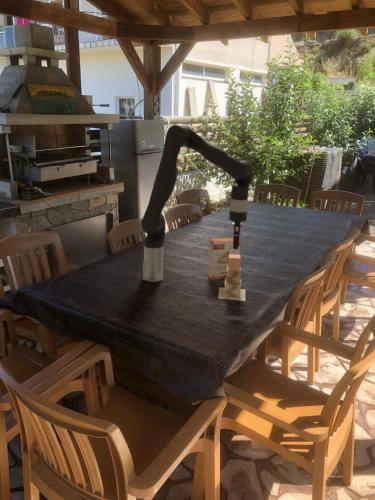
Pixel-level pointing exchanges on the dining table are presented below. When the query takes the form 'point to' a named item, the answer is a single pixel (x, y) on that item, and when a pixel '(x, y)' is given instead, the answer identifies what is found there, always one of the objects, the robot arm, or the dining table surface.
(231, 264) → the terracotta block
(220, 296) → the beige flat square slab
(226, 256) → the cracker box
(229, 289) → the birch base block
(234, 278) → the oak top block
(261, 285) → the dining table surface
